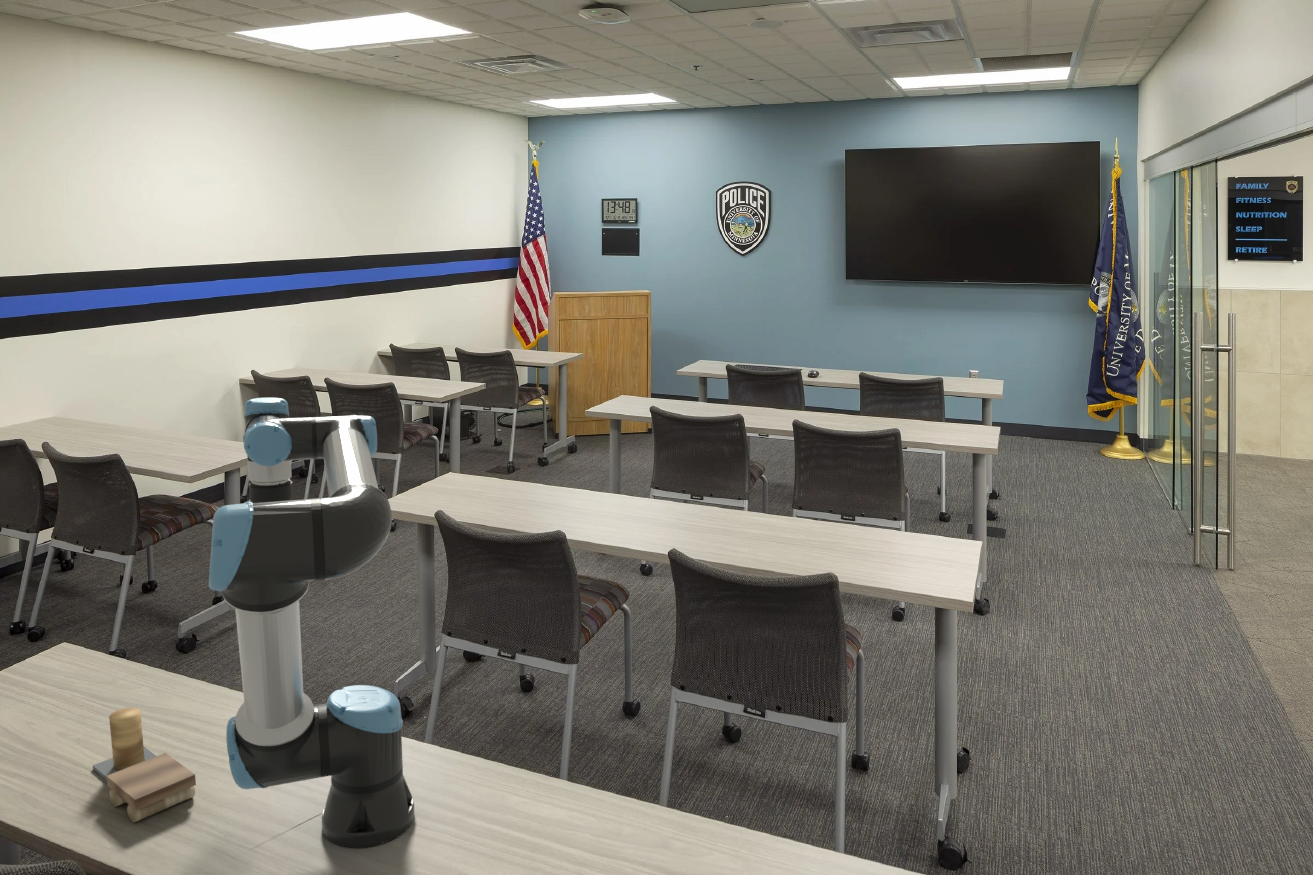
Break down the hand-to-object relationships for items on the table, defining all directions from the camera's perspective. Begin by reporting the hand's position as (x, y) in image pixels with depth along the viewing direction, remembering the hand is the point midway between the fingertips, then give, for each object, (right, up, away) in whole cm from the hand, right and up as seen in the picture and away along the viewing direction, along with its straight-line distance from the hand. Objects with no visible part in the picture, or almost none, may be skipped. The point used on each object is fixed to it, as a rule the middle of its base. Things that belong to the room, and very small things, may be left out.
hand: (276, 587), depth 177 cm
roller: (-25, -32, -5) cm, 41 cm away
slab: (-15, -35, -15) cm, 41 cm away
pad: (-25, -33, -5) cm, 42 cm away
